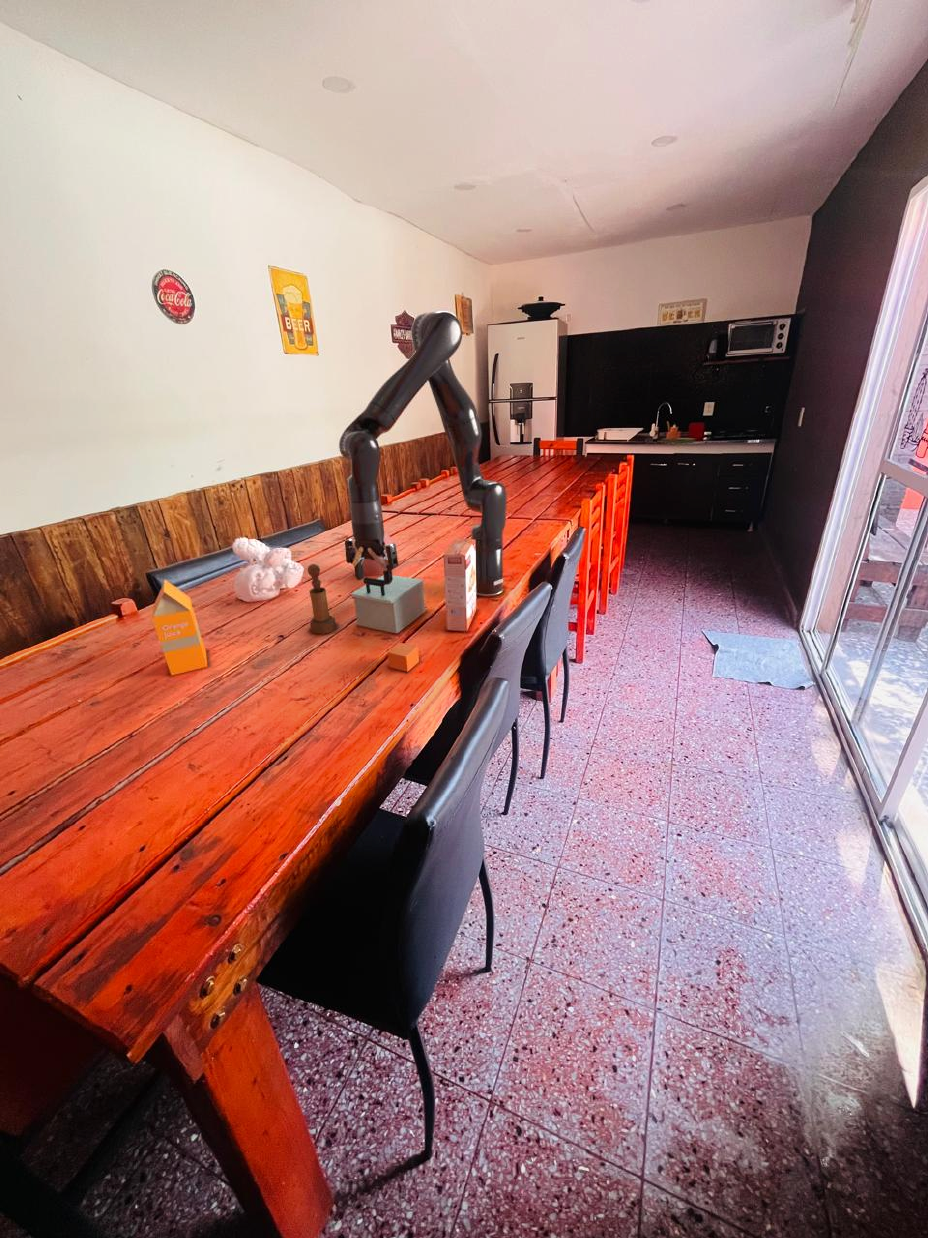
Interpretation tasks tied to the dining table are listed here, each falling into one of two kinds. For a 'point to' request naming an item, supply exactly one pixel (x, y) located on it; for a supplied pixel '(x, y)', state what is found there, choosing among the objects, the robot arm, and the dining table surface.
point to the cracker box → (460, 584)
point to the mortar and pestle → (319, 605)
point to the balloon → (371, 565)
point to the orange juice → (178, 630)
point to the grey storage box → (391, 611)
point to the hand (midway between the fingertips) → (374, 581)
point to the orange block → (403, 657)
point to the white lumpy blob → (264, 570)
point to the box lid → (386, 588)
